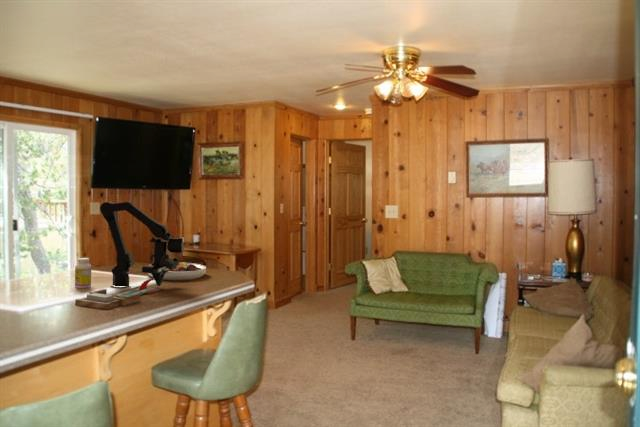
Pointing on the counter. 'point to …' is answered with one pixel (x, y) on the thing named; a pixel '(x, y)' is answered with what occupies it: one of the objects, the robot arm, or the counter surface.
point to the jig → (110, 304)
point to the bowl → (184, 272)
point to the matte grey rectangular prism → (99, 297)
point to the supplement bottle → (83, 273)
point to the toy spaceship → (139, 290)
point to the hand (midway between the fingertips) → (158, 285)
